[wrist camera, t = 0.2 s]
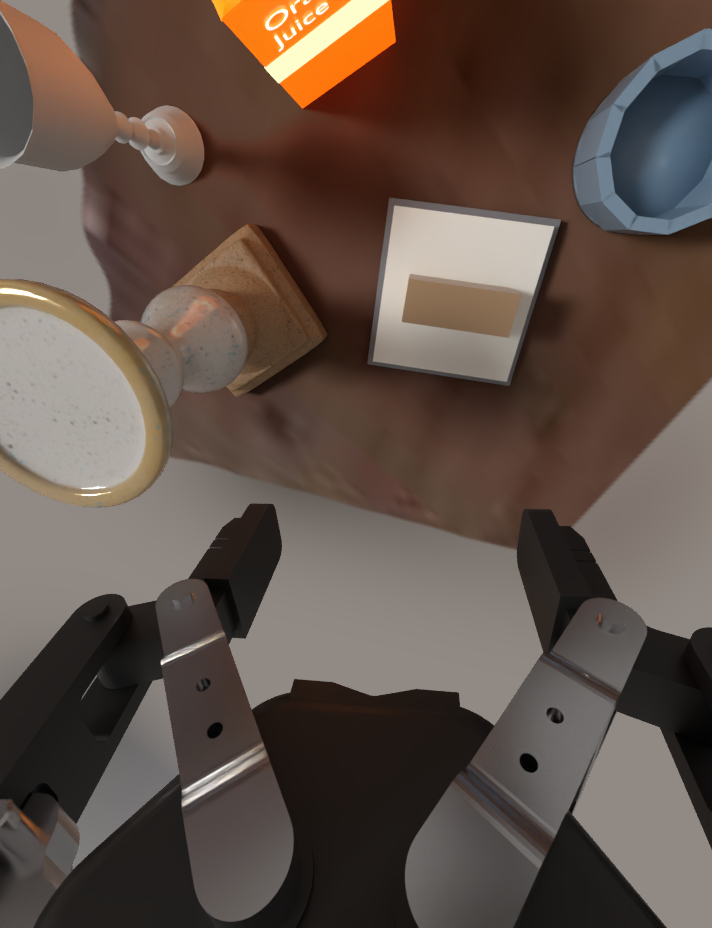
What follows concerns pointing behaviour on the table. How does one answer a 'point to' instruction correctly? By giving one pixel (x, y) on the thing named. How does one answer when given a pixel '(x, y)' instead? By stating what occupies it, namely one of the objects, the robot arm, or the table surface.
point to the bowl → (651, 146)
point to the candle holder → (137, 368)
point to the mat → (465, 212)
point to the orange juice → (310, 38)
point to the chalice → (77, 110)
